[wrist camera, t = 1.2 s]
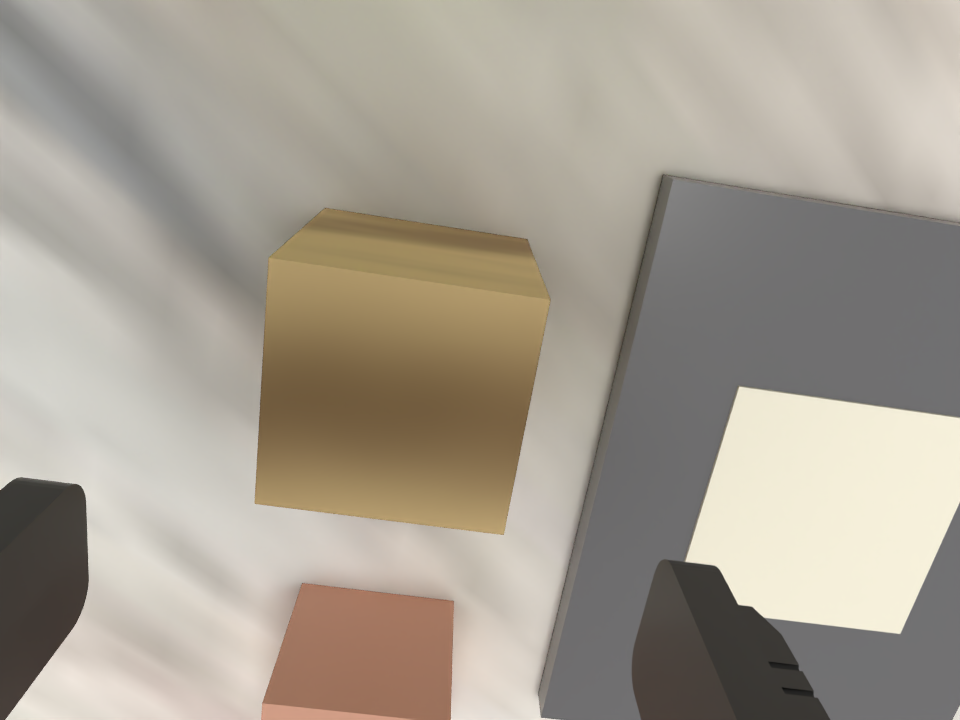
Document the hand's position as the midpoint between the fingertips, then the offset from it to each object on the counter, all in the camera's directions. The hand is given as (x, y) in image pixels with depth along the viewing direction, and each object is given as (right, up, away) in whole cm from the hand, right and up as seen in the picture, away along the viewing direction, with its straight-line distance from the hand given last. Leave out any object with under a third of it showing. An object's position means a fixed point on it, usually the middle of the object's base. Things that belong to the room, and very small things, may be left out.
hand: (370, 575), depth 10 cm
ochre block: (0, +4, +10) cm, 11 cm away
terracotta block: (-2, -7, +15) cm, 16 cm away
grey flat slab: (+12, -1, +13) cm, 17 cm away
